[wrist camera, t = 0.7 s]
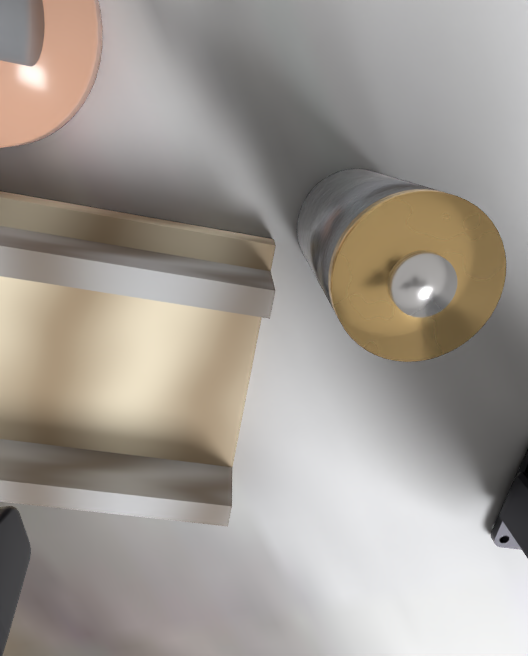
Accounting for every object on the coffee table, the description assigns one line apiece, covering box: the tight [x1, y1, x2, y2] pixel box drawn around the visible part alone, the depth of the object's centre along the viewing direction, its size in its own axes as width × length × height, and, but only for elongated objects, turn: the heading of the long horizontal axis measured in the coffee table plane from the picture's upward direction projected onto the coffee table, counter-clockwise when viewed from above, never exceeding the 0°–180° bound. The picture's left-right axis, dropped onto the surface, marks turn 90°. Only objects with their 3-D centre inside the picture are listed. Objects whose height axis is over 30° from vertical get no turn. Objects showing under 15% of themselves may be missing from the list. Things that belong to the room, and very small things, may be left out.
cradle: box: [0, 191, 276, 526], centre depth 20 cm, size 14×12×4 cm
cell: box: [297, 169, 506, 362], centre depth 16 cm, size 4×4×8 cm
